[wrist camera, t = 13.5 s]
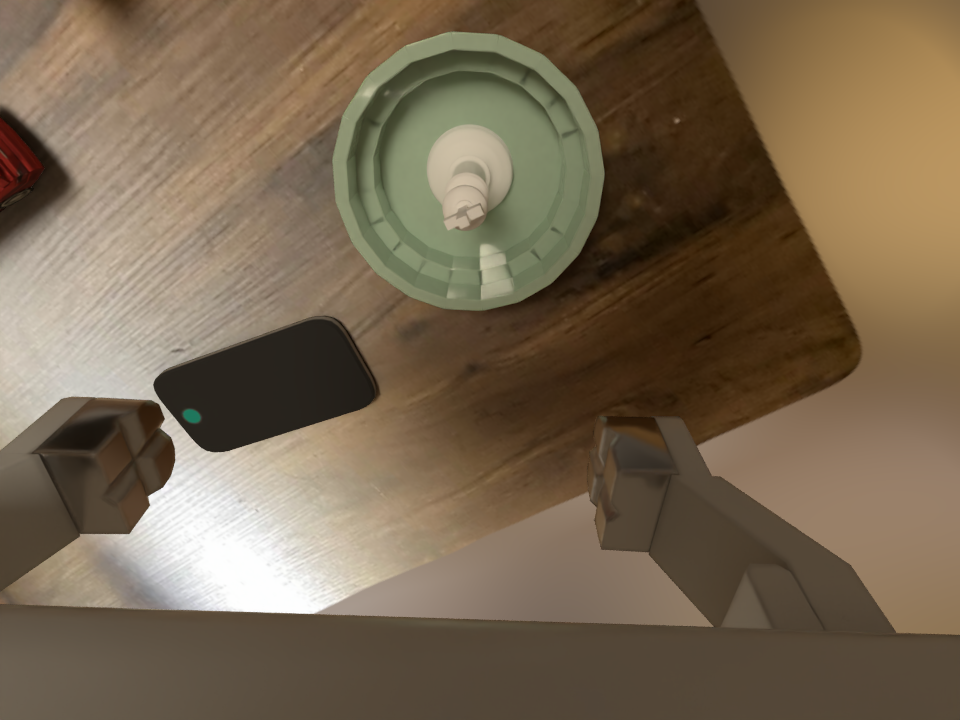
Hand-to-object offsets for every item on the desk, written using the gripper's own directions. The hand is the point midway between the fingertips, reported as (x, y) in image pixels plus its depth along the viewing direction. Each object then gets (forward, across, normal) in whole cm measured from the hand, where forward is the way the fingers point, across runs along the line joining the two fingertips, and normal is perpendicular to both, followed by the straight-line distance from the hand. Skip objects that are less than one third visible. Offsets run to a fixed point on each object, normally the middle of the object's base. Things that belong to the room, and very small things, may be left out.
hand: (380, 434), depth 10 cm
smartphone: (+24, +13, +16) cm, 32 cm away
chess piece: (+24, -1, 0) cm, 24 cm away
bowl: (+24, -1, 0) cm, 25 cm away
